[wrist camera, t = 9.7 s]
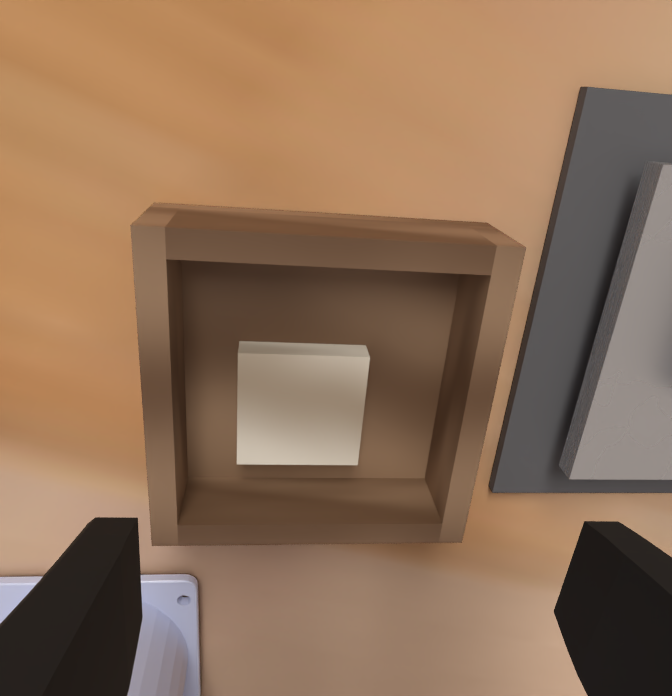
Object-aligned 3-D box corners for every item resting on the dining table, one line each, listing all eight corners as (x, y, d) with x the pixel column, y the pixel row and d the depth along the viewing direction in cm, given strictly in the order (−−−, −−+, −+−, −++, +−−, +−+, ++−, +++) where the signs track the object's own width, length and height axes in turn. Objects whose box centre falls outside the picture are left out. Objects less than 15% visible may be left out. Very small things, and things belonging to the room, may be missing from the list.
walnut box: (438, 485, 22) (461, 542, 19) (168, 485, 21) (151, 545, 18) (487, 222, 18) (526, 247, 15) (153, 202, 16) (130, 225, 14)
